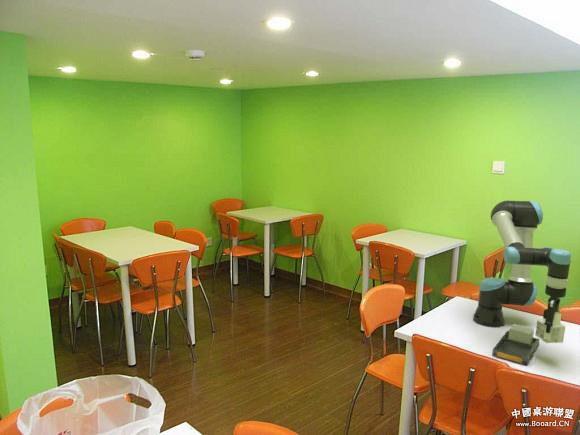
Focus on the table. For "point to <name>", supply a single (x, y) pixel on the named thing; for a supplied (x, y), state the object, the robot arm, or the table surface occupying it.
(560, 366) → the table surface
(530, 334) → the filler block
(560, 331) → the container
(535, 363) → the table surface
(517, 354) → the rack tray
